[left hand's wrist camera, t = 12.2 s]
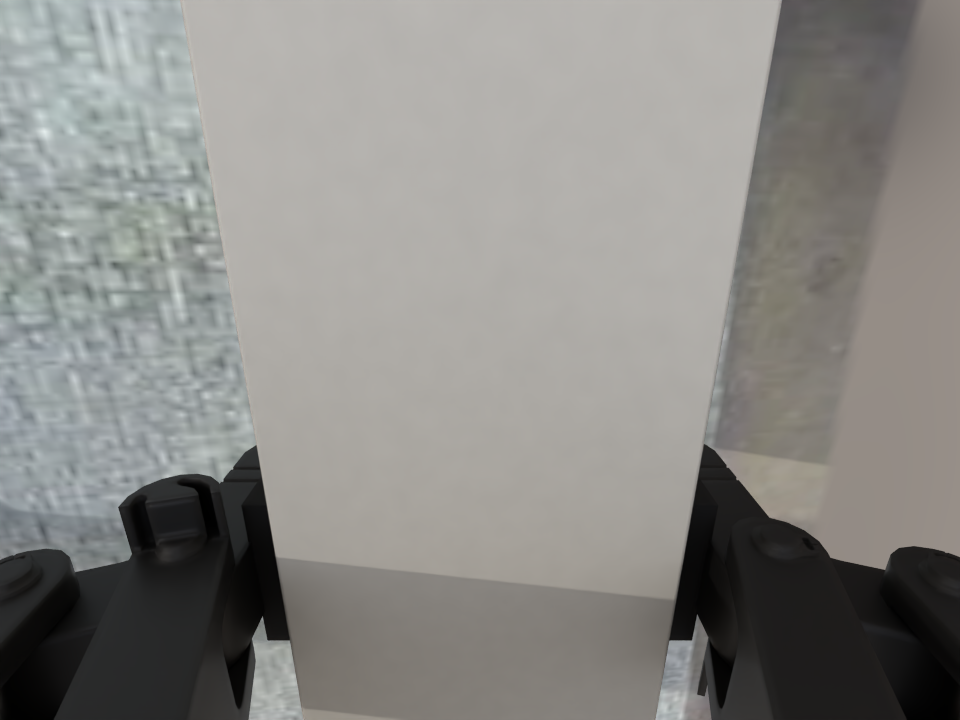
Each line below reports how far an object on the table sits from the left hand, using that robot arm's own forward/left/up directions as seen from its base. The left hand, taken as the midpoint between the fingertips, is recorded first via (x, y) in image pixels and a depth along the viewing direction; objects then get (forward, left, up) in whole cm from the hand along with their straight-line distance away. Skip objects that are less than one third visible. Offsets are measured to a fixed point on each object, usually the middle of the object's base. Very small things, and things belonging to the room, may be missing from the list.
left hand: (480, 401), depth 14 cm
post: (+16, +17, -1) cm, 23 cm away
